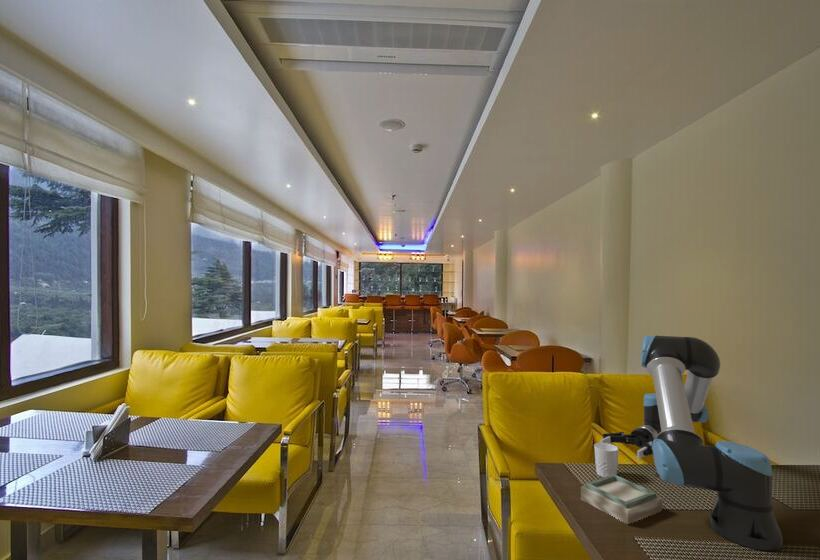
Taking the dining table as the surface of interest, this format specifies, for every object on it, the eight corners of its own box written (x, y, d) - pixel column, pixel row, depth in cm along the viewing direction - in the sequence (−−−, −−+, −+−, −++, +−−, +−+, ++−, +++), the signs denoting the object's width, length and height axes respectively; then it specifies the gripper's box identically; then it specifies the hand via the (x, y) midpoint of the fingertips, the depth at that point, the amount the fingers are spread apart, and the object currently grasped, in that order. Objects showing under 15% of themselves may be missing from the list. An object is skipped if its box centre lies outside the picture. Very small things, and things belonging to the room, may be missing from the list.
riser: (662, 511, 120) (661, 493, 120) (628, 525, 113) (627, 506, 113) (613, 488, 134) (613, 472, 135) (580, 499, 127) (580, 482, 127)
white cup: (613, 470, 148) (613, 443, 149) (622, 480, 140) (622, 451, 141) (591, 469, 149) (591, 442, 149) (599, 479, 141) (598, 450, 142)
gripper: (678, 456, 154) (655, 471, 141) (613, 437, 174) (587, 448, 161) (678, 436, 154) (654, 449, 141) (613, 419, 174) (587, 430, 161)
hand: (619, 449), depth 151 cm, fingers open, 13 cm apart
